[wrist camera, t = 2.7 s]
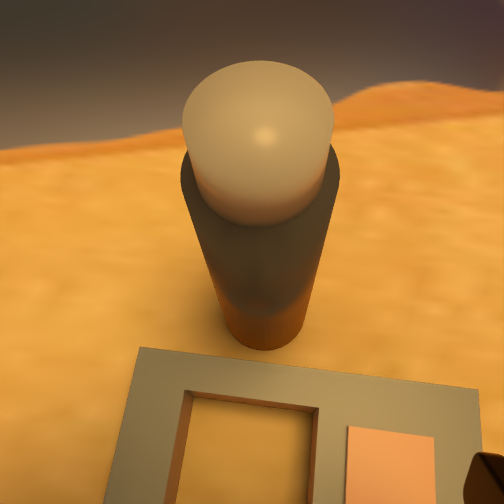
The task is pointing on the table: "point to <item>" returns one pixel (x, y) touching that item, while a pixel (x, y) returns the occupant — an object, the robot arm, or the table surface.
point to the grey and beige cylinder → (260, 192)
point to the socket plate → (323, 431)
